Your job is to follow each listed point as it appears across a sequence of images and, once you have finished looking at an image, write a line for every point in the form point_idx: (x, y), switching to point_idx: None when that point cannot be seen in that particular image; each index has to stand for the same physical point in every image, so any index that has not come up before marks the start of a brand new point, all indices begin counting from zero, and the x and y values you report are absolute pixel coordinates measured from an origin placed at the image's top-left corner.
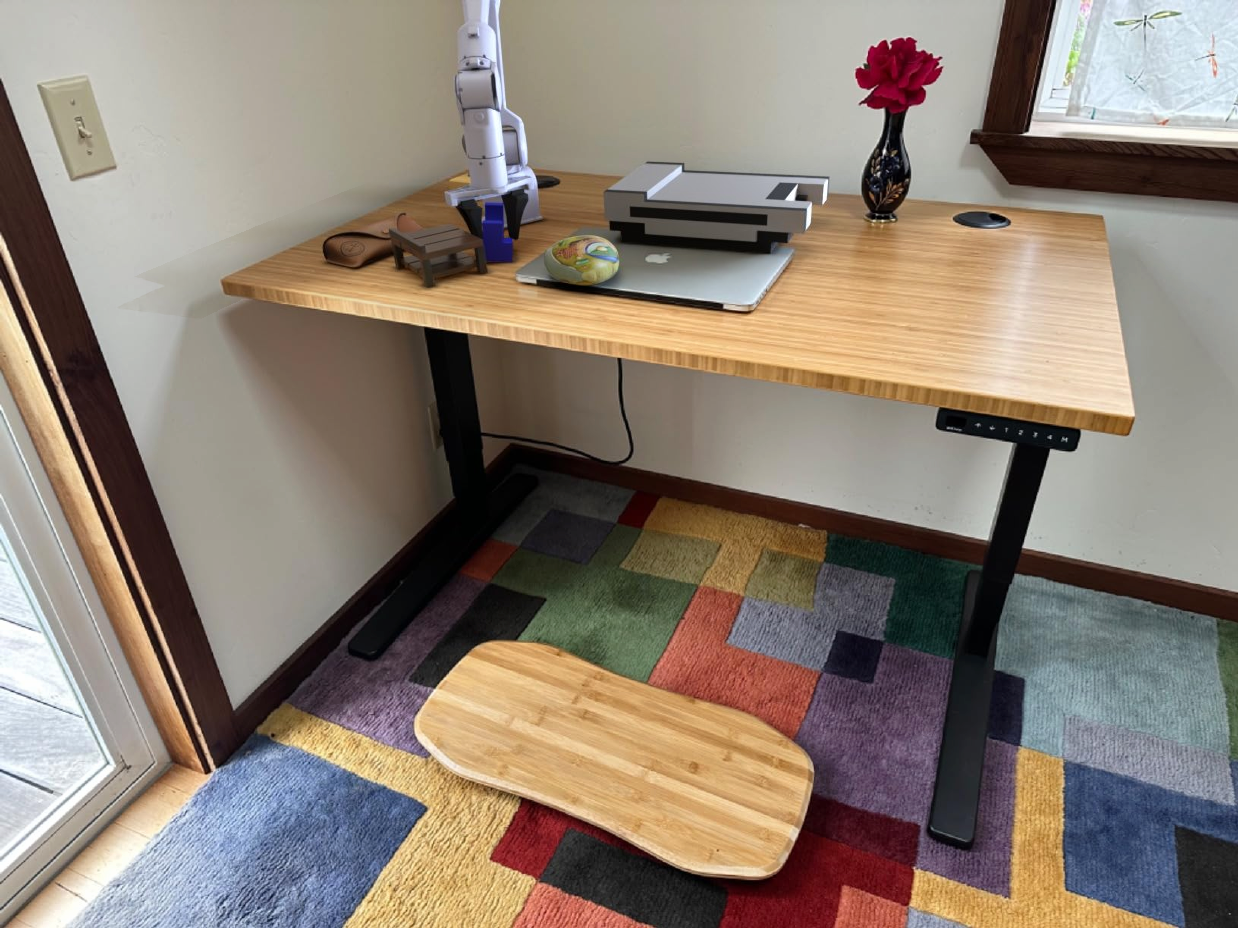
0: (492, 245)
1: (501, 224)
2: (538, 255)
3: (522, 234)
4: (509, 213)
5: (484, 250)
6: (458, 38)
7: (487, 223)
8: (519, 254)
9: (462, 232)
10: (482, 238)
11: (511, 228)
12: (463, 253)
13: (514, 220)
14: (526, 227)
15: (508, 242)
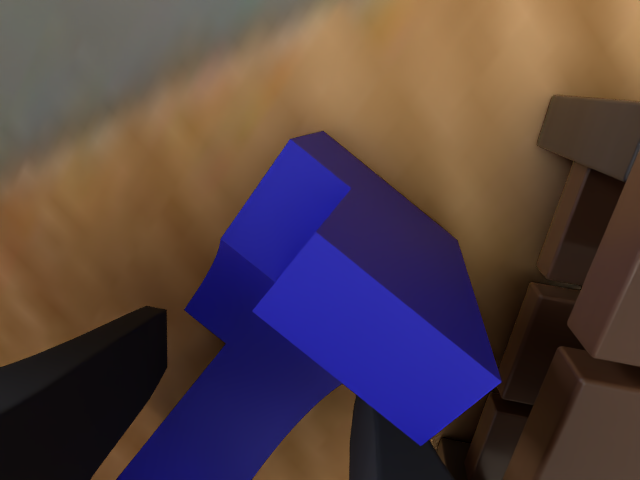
0: (414, 233)
1: (324, 237)
2: (149, 110)
3: None
4: (60, 468)
5: (637, 102)
6: None
7: (454, 344)
8: (218, 212)
9: (586, 460)
10: None
11: (131, 377)
12: (522, 361)
13: (82, 381)
14: None
15: (306, 171)
